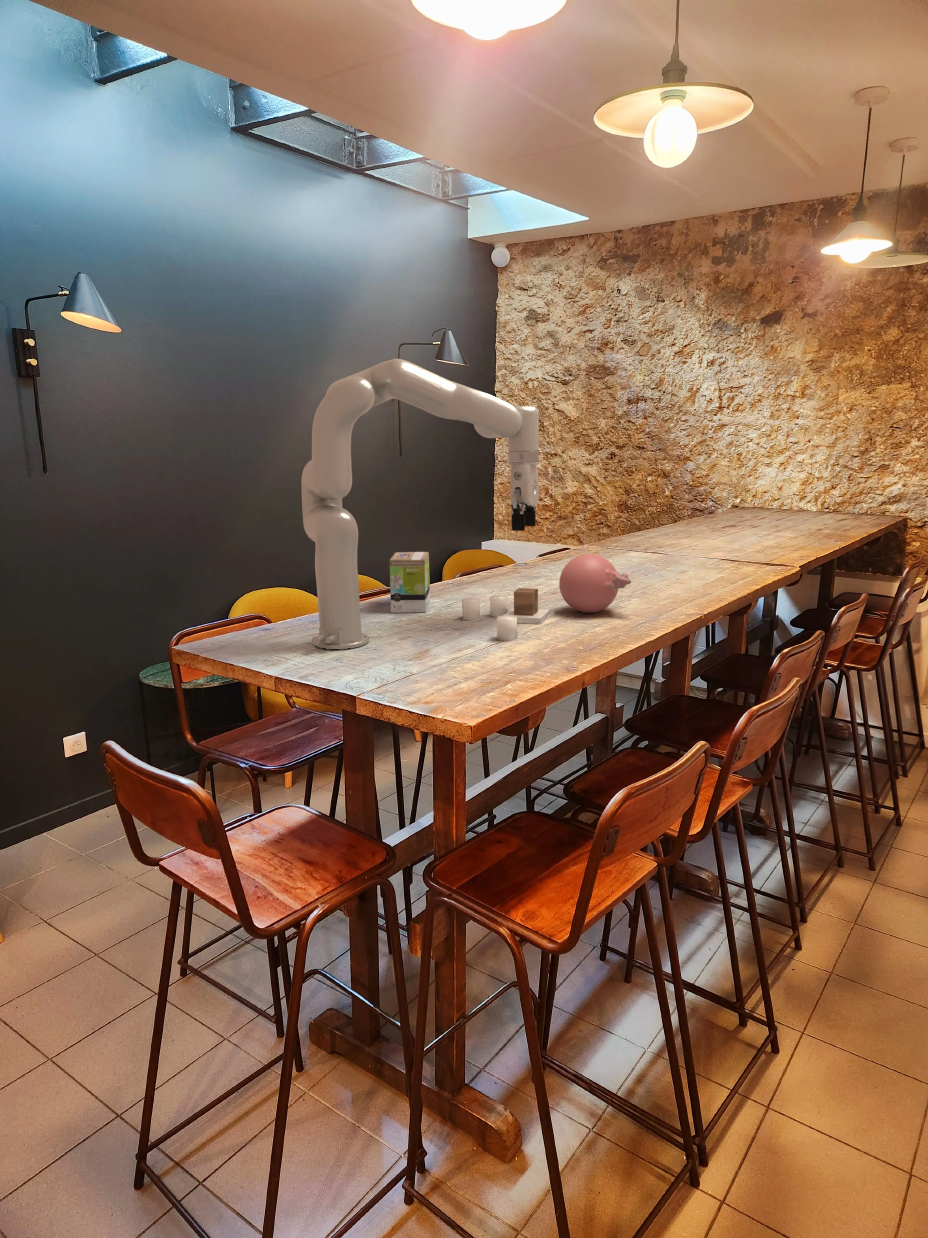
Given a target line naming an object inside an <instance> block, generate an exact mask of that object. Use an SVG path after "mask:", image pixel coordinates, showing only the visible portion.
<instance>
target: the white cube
mask: <svg viewBox="0 0 928 1238" xmlns="http://www.w3.org/2000/svg"><path fill="white" fill-rule="evenodd" d="M480 602H481V600H480V598H478V597H465V598H462V599H461V616H462V617H461V619H462V620H463V621H469V622H470V621H471V620H473V621H478V619H479V620H480V619H481V603H480Z"/></svg>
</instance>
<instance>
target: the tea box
mask: <svg viewBox="0 0 928 1238" xmlns="http://www.w3.org/2000/svg"><path fill="white" fill-rule="evenodd" d="M430 582H431V581H430V553H429V551H405V552H404V551H401V552H398V551H397V552H394V553H393V555H392V556H391V558H390V559H389V585H390V593H389V594H390V613H392V614H394V613H398V614H399V613H400V614H401V613H402V614H403V613H426V611H427V610H428V607H429V604H430V601H431V592H430V591H431V590H430V589H431V585H430V584H431V583H430Z"/></svg>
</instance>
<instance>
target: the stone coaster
mask: <svg viewBox="0 0 928 1238" xmlns="http://www.w3.org/2000/svg"><path fill="white" fill-rule="evenodd" d="M504 615H511V616H516V617H517V624H531V625H541V624H542V623H544V620H545V619H546V620H547V619H548V618H549V617H550V616H551V609H541V608H538V612H537V613H536V614H535V615H533V616H528V615H514V607H513V608H511V609H510V610H508V612H507V613H506V614H504ZM549 615H550V616H549ZM548 616H549V617H548ZM547 617H548V618H547ZM546 620H545V621H546Z"/></svg>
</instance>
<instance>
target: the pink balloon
mask: <svg viewBox="0 0 928 1238" xmlns="http://www.w3.org/2000/svg"><path fill="white" fill-rule="evenodd" d="M559 576H560V577H559V591H560V594H561V597H562V599H563V600H564V602H565V603H566V604H567V606H569V607H571V609H573V610H575V611H577V612H580V613H584V614H594V613H598V612H602V610H605V609H606V608H608V607H609V606H610V605H612V603H613V602H614V600H616V598H617V594H618V592H619V589H624V588H626V586H627V585H630V584H631V583H632V581H631V579H630V578H629V574H628V573H622V574H620V573H619V572H618V571H617V569H616V568H615V566H614V565H613V564H612V563H611V561H609V560H608V559H606V558H605V557H603V556H601V555H598V554H595V553H594V554H591V553H585V554H580V555H578V556H575V557H574V558H573V559H570V560H569V561H568V562H567V564H566V565H564V567H563V569H562V571H561V572H560V575H559Z"/></svg>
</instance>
